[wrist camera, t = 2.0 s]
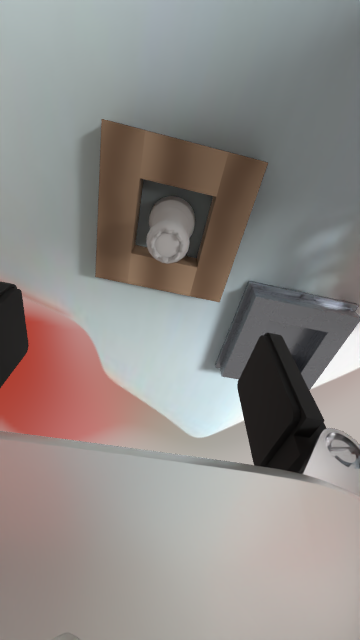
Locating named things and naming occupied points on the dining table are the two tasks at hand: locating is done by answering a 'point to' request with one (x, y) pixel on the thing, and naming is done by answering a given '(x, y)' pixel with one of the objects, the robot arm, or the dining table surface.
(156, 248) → the rook chess piece
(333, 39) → the dining table surface
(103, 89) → the dining table surface
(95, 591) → the robot arm
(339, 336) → the holder
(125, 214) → the socket block
